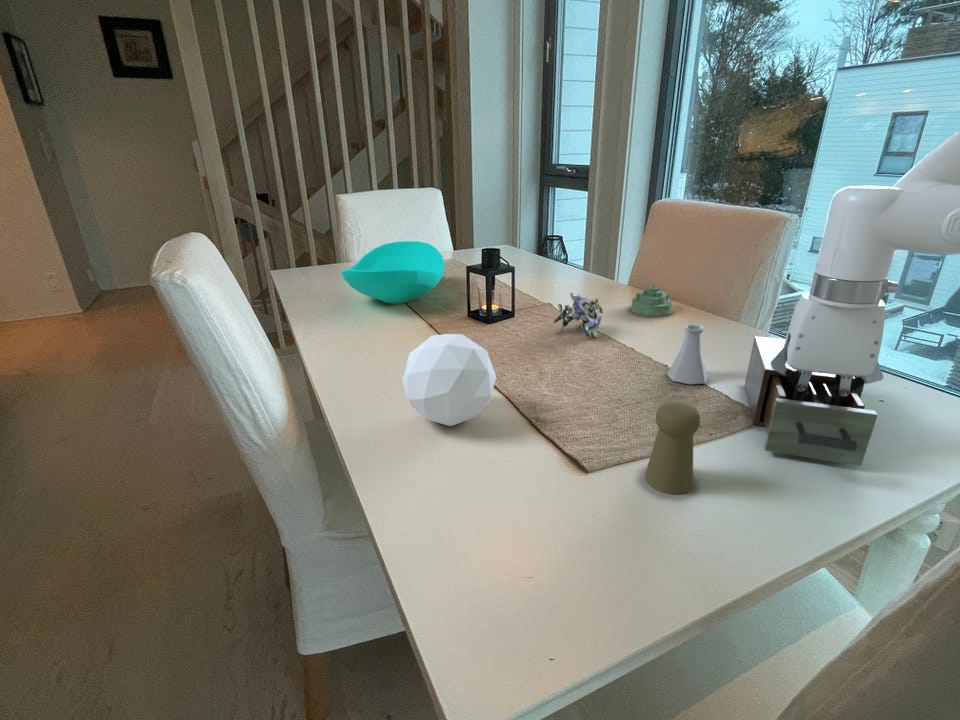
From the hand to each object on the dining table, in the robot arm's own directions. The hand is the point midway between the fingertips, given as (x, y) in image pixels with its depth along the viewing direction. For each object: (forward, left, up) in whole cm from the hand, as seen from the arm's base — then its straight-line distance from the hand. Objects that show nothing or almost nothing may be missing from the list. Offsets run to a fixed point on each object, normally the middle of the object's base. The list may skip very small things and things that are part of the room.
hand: (813, 414), depth 72 cm
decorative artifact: (+25, -59, -5) cm, 64 cm away
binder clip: (0, 0, 0) cm, 0 cm away
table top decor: (+94, -48, -5) cm, 106 cm away
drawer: (0, +1, -4) cm, 4 cm away
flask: (+16, -19, -5) cm, 26 cm away
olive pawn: (+18, +15, -5) cm, 24 cm away
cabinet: (0, -11, -5) cm, 12 cm away
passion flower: (+40, -36, -5) cm, 54 cm away
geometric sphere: (+52, +9, -5) cm, 53 cm away
